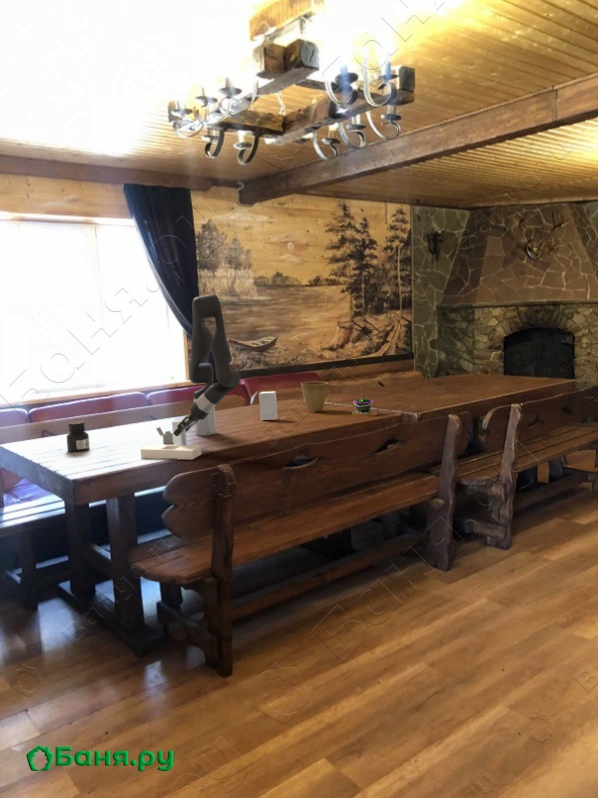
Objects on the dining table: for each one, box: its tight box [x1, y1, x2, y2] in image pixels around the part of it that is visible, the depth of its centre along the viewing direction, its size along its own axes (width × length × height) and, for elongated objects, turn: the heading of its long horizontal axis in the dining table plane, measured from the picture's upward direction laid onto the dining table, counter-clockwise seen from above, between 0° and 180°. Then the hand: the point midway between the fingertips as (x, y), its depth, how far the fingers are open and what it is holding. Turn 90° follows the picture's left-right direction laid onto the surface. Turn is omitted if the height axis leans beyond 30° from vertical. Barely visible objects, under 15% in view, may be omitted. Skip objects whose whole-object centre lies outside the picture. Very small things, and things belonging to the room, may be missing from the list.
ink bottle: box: [66, 420, 90, 453], centre depth 269 cm, size 10×9×12 cm
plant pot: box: [300, 381, 329, 413], centre depth 351 cm, size 15×15×16 cm
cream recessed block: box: [140, 444, 202, 461], centre depth 253 cm, size 9×22×4 cm, turn 75°
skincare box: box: [258, 390, 279, 421], centre depth 328 cm, size 8×6×15 cm
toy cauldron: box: [353, 393, 375, 414], centre depth 338 cm, size 15×15×11 cm
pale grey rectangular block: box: [171, 419, 187, 445], centre depth 264 cm, size 5×4×12 cm
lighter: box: [155, 425, 173, 444], centre depth 277 cm, size 7×2×8 cm, turn 123°
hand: (179, 432), depth 264 cm, fingers open, 8 cm apart
